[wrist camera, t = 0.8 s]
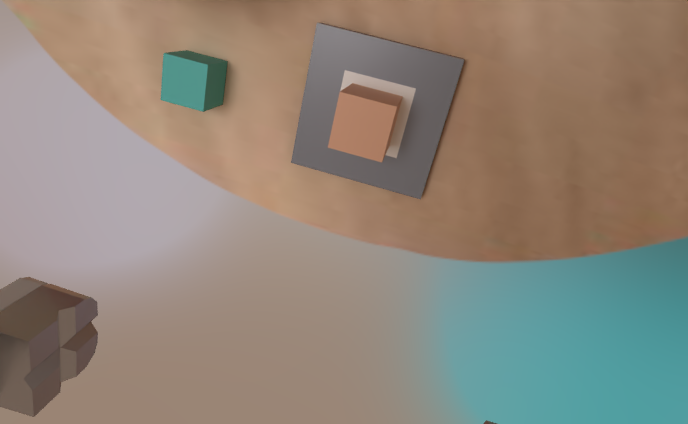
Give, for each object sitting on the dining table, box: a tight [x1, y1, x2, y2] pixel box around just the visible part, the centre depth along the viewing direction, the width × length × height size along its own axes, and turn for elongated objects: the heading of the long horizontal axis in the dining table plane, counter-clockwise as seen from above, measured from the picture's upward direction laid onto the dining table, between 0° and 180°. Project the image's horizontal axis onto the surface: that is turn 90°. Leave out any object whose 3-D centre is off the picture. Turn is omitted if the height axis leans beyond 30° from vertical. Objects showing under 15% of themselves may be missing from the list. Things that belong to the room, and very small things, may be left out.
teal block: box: [161, 50, 228, 112], centre depth 48 cm, size 4×4×4 cm
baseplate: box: [291, 23, 464, 199], centre depth 47 cm, size 14×14×1 cm
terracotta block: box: [328, 83, 403, 162], centre depth 44 cm, size 5×5×6 cm
